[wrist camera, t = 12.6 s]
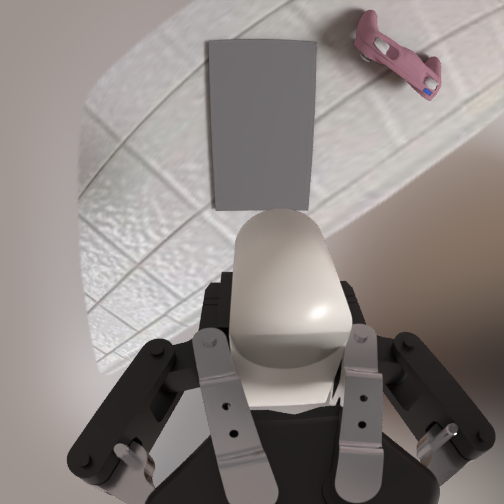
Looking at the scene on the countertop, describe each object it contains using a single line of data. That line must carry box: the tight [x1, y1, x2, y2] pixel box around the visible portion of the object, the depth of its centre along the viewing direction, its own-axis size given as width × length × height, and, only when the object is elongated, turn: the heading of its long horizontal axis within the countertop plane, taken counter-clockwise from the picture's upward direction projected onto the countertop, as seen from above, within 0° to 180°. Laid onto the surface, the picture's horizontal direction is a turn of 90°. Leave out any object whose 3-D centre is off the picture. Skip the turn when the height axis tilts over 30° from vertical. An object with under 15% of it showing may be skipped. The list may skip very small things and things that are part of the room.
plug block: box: [229, 208, 352, 406], centre depth 13 cm, size 9×4×5 cm, turn 0°
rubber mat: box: [209, 39, 317, 211], centre depth 28 cm, size 18×10×1 cm, turn 0°
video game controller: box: [354, 10, 441, 101], centre depth 22 cm, size 10×5×7 cm, turn 66°
